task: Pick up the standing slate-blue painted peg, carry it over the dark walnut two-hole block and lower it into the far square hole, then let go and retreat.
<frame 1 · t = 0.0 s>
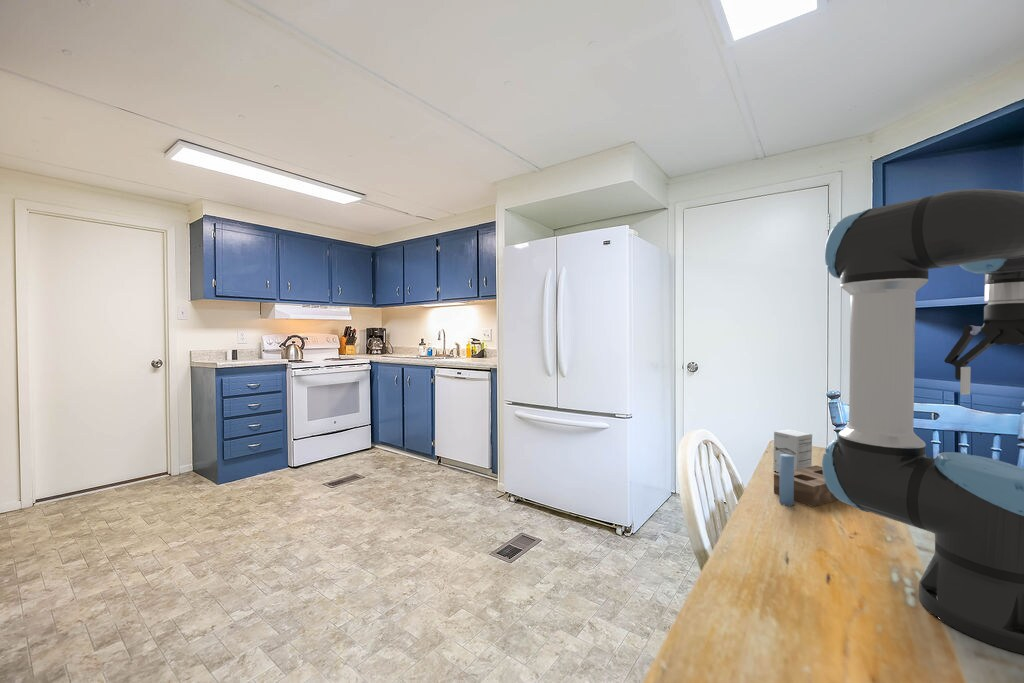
hand: (1007, 398, 93), 28 cm above the table, fingers open, 13 cm apart
peg: (786, 503, 105), on the table
supplement box: (792, 474, 127), on the table
hole block: (814, 493, 111), on the table
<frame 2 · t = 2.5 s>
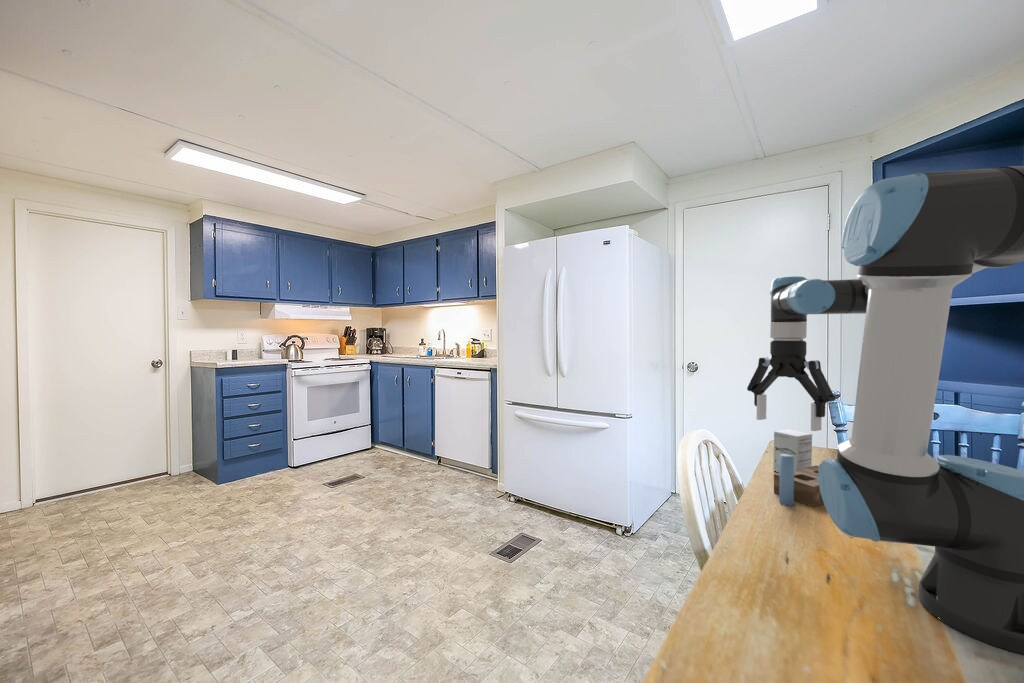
hand: (787, 424, 104), 20 cm above the table, fingers open, 13 cm apart
nothing on the table moved.
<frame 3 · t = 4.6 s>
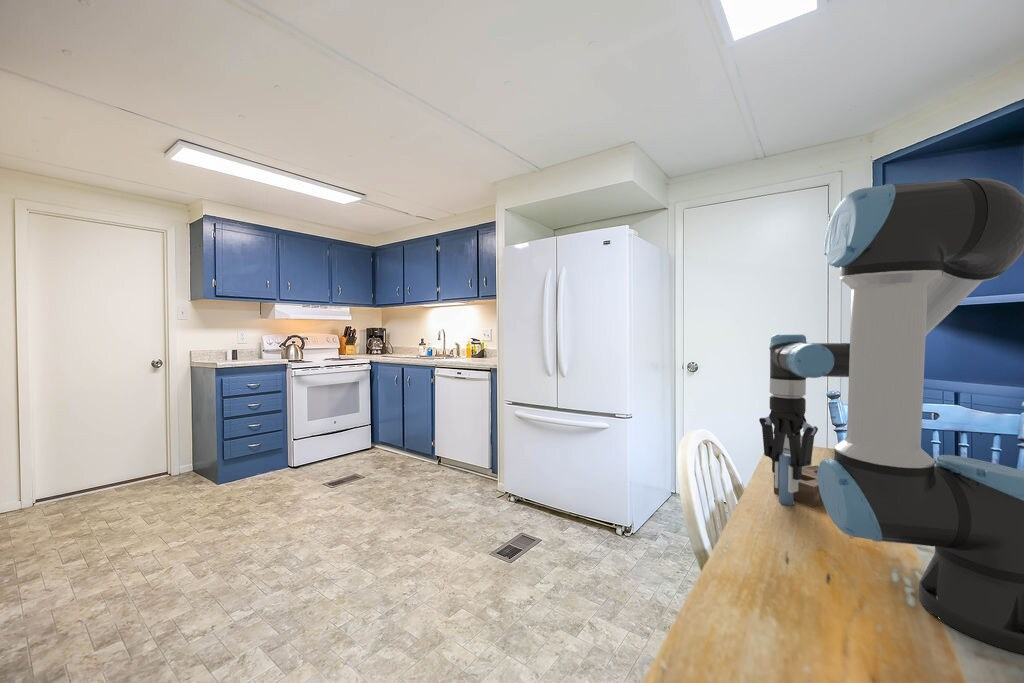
hand: (786, 489, 105), 4 cm above the table, fingers closed on peg, 3 cm apart
peg: (786, 503, 105), on the table, touching gripper
everything else where it was.
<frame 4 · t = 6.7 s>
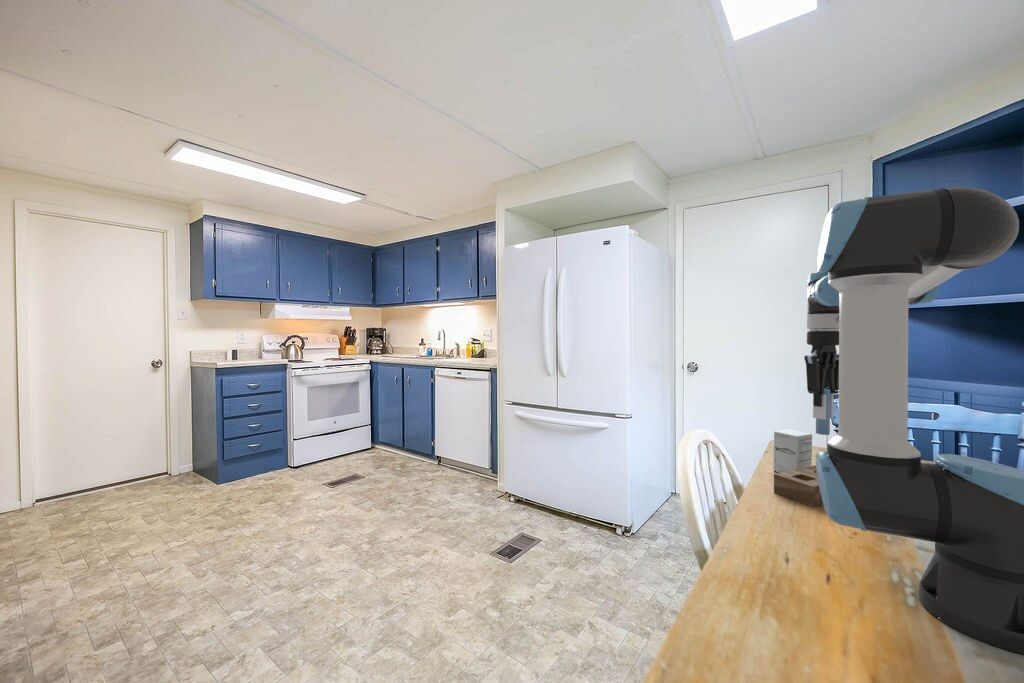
hand: (823, 417, 112), 20 cm above the table, fingers closed on peg, 3 cm apart
peg: (822, 433, 112), point 16 cm above the table, touching gripper
everything else where it was.
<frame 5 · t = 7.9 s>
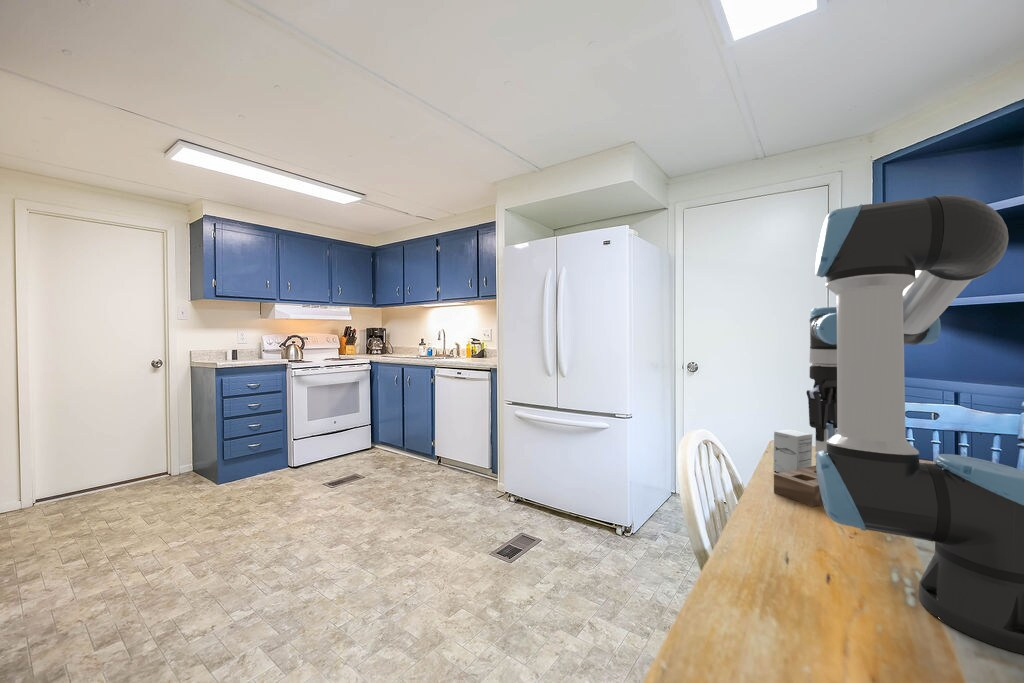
hand: (825, 452, 112), 11 cm above the table, fingers closed on peg, 3 cm apart
peg: (825, 468, 112), point 6 cm above the table, touching gripper
everything else where it was.
when the fingers open (7 cm above the table, at t = 9.0 s): peg drops 2 cm, resting in hole block.
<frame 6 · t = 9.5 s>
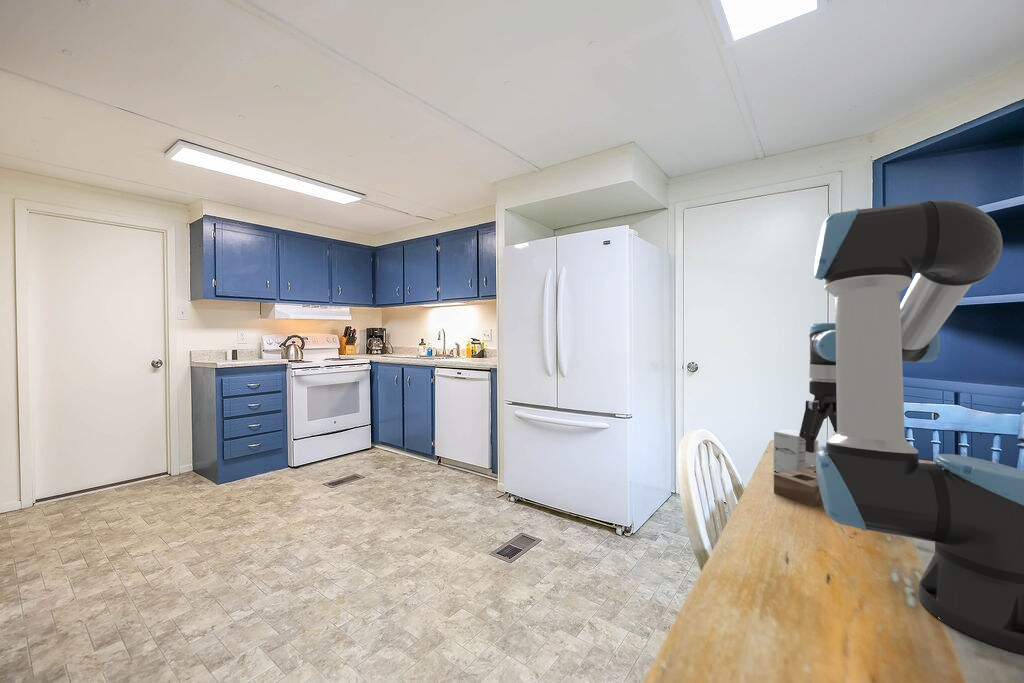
hand: (825, 461, 112), 8 cm above the table, fingers open, 11 cm apart
peg: (825, 491, 112), resting in hole block
everything else where it was.
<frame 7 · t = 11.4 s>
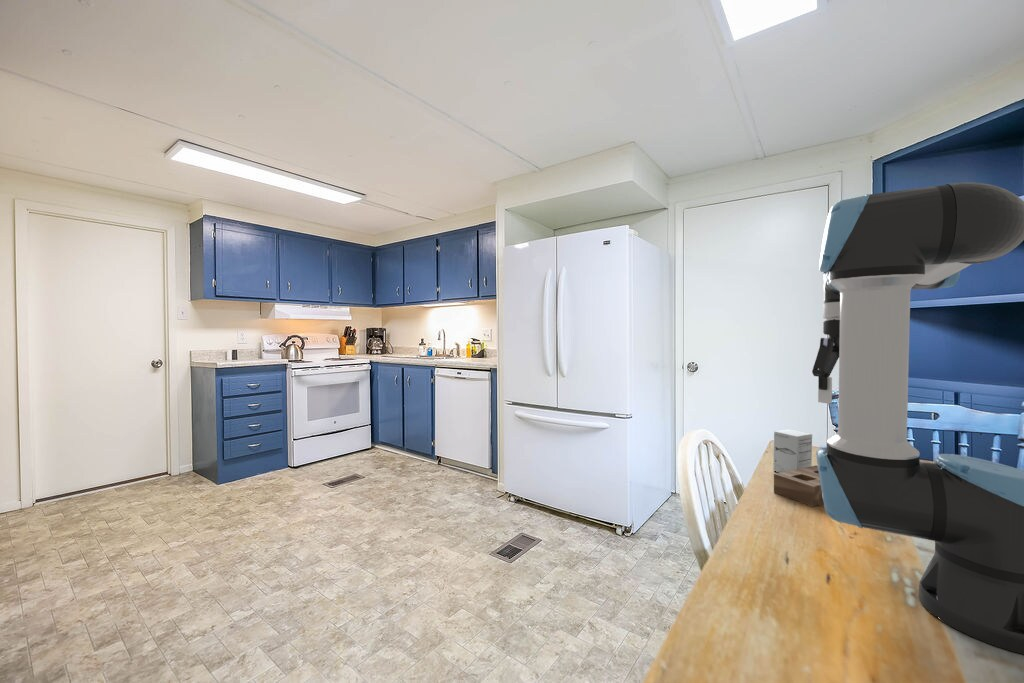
hand: (840, 401, 108), 25 cm above the table, fingers open, 13 cm apart
nothing on the table moved.
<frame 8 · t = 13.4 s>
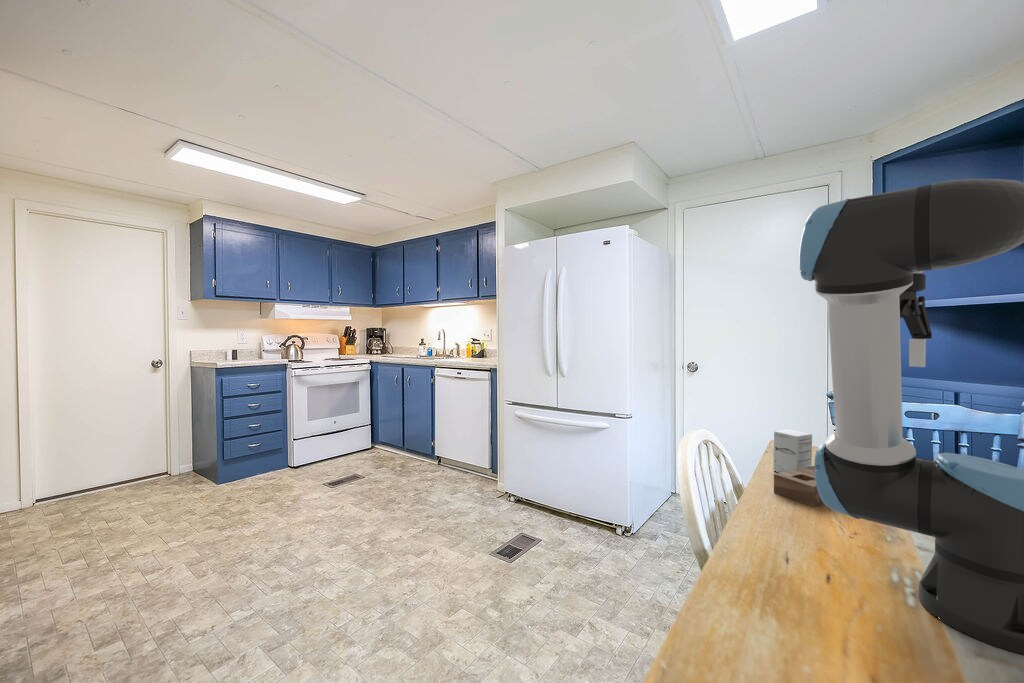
hand: (901, 367, 95), 35 cm above the table, fingers open, 13 cm apart
nothing on the table moved.
at the end: peg 0.2 cm from the target spot on the hole block, point 0.0 cm above the hole block's base; peg tilted 1°; the gripper is holding nothing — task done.
